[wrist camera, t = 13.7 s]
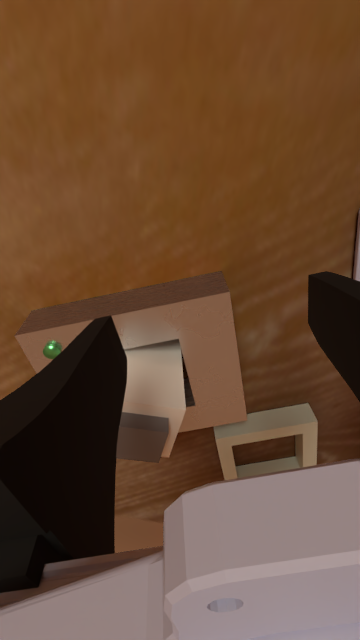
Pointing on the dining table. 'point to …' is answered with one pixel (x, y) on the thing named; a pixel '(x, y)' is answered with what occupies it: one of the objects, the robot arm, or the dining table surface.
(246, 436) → the beige square frame
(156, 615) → the robot arm
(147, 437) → the plug
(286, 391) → the dining table surface
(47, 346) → the port block
